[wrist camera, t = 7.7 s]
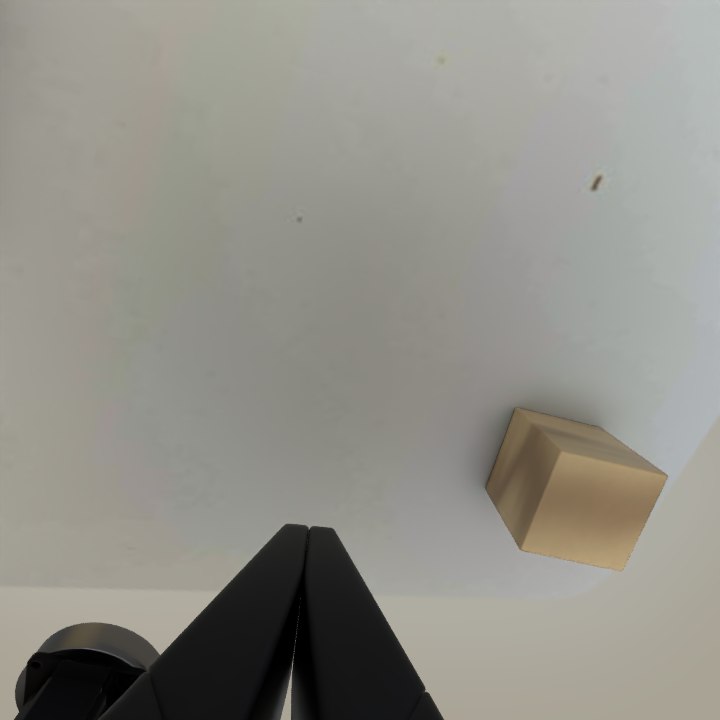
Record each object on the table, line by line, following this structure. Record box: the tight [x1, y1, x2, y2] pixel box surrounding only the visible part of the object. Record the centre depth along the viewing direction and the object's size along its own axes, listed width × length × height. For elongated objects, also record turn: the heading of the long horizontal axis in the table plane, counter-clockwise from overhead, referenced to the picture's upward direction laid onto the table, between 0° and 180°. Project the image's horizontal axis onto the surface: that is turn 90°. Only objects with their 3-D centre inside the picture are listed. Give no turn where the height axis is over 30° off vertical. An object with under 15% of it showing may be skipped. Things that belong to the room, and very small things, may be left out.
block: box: [486, 408, 668, 571], centre depth 19 cm, size 4×4×4 cm
